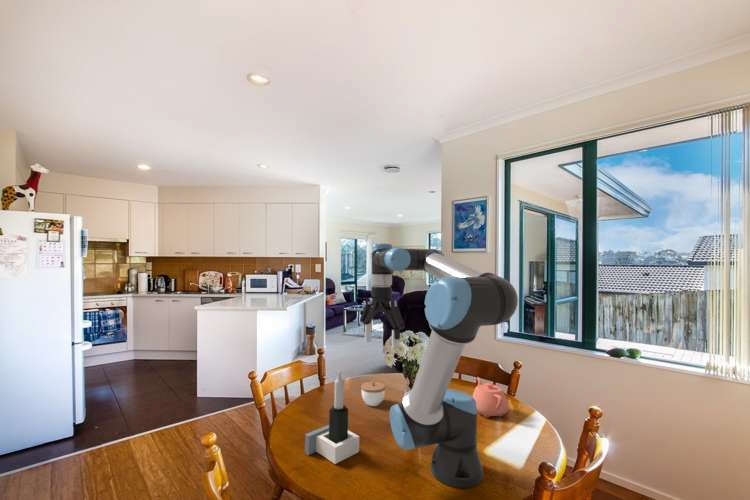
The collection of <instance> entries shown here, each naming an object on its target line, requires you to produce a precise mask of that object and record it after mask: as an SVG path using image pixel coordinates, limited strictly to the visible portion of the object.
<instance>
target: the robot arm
mask: <svg viewBox="0 0 750 500" xmlns="http://www.w3.org/2000/svg"><path fill="white" fill-rule="evenodd" d="M401 271H423V272H425V273H427V274H430V275H431V276H432V277H434V278H436V279H437V280H435V281H433V282H432V284H431V285H430V286H429V287H428V289H427V292H426V294H425V299H424V305H425V308H424V314H425V317H426V320H427V321H428V325H429V328H430V329H431V331H430V332H431V333H430V335H429V339H428V342H427V344H426V347H425V349H424V353H423V356H422V359H421V362H420V365H419V367H418V370H417V373H416V376H415V379H414V382H413V384H412V385H413V386H412V387H411V389H410V390H408V391H406V392H405V394H404V396H403V397H402V401H401V403H399V404H398V403H395V404H393V405H392V406H391V407H390V409H389V422H390V427H391V431H392V435H393V438H394V439H395V442H396V444H397V445H398V447H399V448H401V449H402V450H405V451H407V450H415V449H420V448H424V447H429V446H433V445H435V448H434V450H433V453H432V456H431V460H430V472H431V474H432V475H433V477H434V478H435V479H436V480H438V481H439V482H441V483H442V484H445V485H447V486H450V487H453V488H460V489H461V488H462V489H466V488H467V489H468V488H473V487H475V486H478V485H479V484H480V483H482V481H483V478H484V469H483V464H482V461H481V457H480V454H479V451H478V448H477V444H478V442H477V438H478V436H477V434H478V432H477V430H478V429H477V428H478V427H477V426H478V425H477V421H478V412H477V408H476V401H475V399H474V398H473V397H472V396H473V395H471V394H469V393H466V392H464V391H460V390H457V389H451V388H449V386H450V383H451V381H452V378H453V376H454V373H455V371H456V369H457V365H458V363H459V362H460V358H461V356H462V353H463V351H464V349H465V346H466V345H468V344H470V343H472V342H474V341H475V338H476V336H477V334H478V332H479V330H480V328H481V327H487V326H497V325H500V324H503V323H505V322H507V321H508V320H510V319H511V318H512V316H514V314H515V313H516V310H517V308H518V306H519V305H518V303H519V298H518V293H517V290H516V288H515V287H514V285H513V284H512V283H511V282H510V281H508V280H507V279H506V278H503V277H502V276H499V275H497V274H496V273H495V274H494V273H492V272H488V271H487V272H481V271H478V270H476V269H474V268H471V267H469V266H468V265H464V264H463V263H460V262H458V261H455V260H453V259H452V258H449V257H446V256H445V254H444V253H443V251H441V250H440V249H434V248H429V249H428V248H426V249H425V248H424V249H423V248H403V247H393V246H392V244H391V243H382V242H381V243H374V244H372V246H371V278H370V280H371V281H370V283H371V284H370V285H371V288H370V293H371V294H370V296H371V297H366V299H365V304H364V308H363V310H362V313H361V316H360V318H359V321H360V323H363V333H364V343H370V342H372V328H373V327H372V320H373V319H374V317H375V316H376V315H377V313H379V312H380V313H383V314H384V315H385V316H386V318H387V319H388V321H389V323H390V325H391V327H392V329H391V350H396V349H399V348H400V347H399V340H400V339H401V330H402V329H405V327H406V326H405V322H404V320H403V317H402V314H401V311H400V308H399V301H397V300H392V299H391V298H392V296H393V288H392V285H393V272H401Z"/></svg>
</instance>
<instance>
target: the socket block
mask: <svg viewBox="0 0 750 500" xmlns="http://www.w3.org/2000/svg"><path fill="white" fill-rule="evenodd" d="M316 451H317V452H316V453H318V454H319V455H321V456H322V457H324V458H325V459H327V460H328V461H330V462H331V463H333V464H334V465H336V464H338V463H340V462H342V461H344V460H346V459H348V458H350V457H353V456H354V455H356V454H357V453H360V436H359V435H357V433H354V432H352V431H351V430H349V429H348V439H346V440H344V441H342V442H339V443H337V444H335V443H334V442H332V441H330V440H329V431H327V432H324V433H322V434H320V435H317V436H316Z"/></svg>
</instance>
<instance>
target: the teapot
mask: <svg viewBox="0 0 750 500" xmlns="http://www.w3.org/2000/svg"><path fill="white" fill-rule="evenodd" d="M476 379H477V386H476V387H475V388H474V391H473V393H472V395H471V396H472V397H473V398H474V399H475V401H476V408H477V413H479V414H480V415H482V416H483V418H485V419H490V418H491V417H498V416H504V415H506V414H507V412H508V410H509V405H508V403H509V402H508V400H507V396H506V394H505V392H504V390H503V389H502V388H501V387H499V386H498V385H496V384H493V383H491V382H487V383H485V384H483V382H482V379H481V378H480V377H479V376H477V377H476ZM489 417H490V418H489Z"/></svg>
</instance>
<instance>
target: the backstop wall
mask: <svg viewBox="0 0 750 500" xmlns="http://www.w3.org/2000/svg"><path fill="white" fill-rule="evenodd" d="M327 431H329V424H327V425H325V426H322V427H320V428H318V429H314V430H312V431H310V432H308V433H307V432H306V433H305V436H304V454H306V455H308V456H310V455H312V454H314V453H318V452H317V451H316V436H317V435H320V434H322V433H324V432H327Z"/></svg>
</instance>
